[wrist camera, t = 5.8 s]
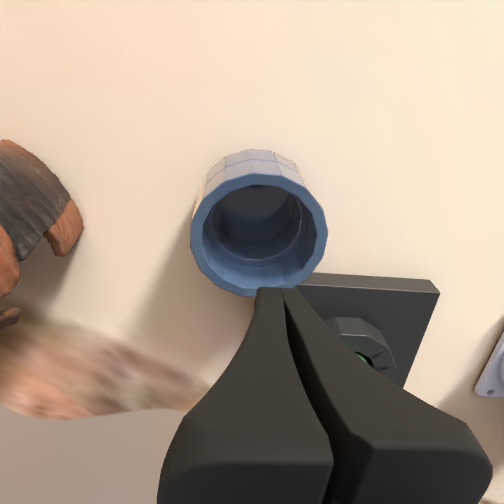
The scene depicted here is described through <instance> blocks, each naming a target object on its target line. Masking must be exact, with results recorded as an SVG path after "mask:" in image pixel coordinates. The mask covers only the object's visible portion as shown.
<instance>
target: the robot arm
mask: <svg viewBox="0 0 504 504" xmlns="http://www.w3.org/2000/svg"><path fill="white" fill-rule="evenodd" d="M474 391H475V393H476V394H477V395H478V396H483V397H504V332H503V334H502V336H501V338H500V340H499V341H498V343H497V345H496V347H495V349H494V351H493V353H492V355H491V357H490V359H489V361H488V363H487V365H486V367H485V369H484V371H483V372H482V374H481V376H480V378H479V380H478V382H477V384H476V386H475V388H474ZM492 476H493V466H492V464H491V462H490V461H489V459H488V457H487V455H486V454H485V452H484V450H483V449H482V447H481V445H480V444H479V442H478V440H477V439H476V437H475V436H474V434H473V433H472V431H471V430H470V429H469V427H468V426H467V424H466V423H464V422H462V421H460V420H458V419H456V418H455V417H453V416H451V415H449V414H447V413H445V412H443V411H441V410H439V409H437V408H435V407H433V406H431V405H429V404H428V403H426V402H424V401H422V400H421V399H419V398H417V397H416V396H414V395H412V394H411V393H409V392H407V391H406V390H404V389H403V388H401V387H400V386H398V385H396V384H395V383H393V382H392V381H391V380H389V379H388V378H386V377H385V376H384V375H382V374H381V373H379V372H378V371H377V370H375V369H374V368H373V367H371V366H370V365H369V364H367V363H366V362H365V361H364V360H363V359H361V358H360V357H359V356H358V355H357V354H356V353H354V352H353V351H352V350H351V349H350V348H349V347H348V346H347V345H346V344H344V343H343V342H342V341H341V340H340V339H339V338H338V337H337V336H336V335H335V334H334V333H333V331H332V330H331V329H330V328H329V327H328V326H327V325H326V324H325V323H324V321H323V320H322V319H321V318H320V317H319V316H318V315H317V313H316V312H315V311H314V310H313V308H312V307H311V306H310V305H309V303H308V302H307V301H306V300H305V298H304V297H303V296H302V295H301V293H300V292H299V291H298V290H297V289H296V288H278V287H259V288H258V289H257V292H256V300H255V309H254V314H253V317H252V320H251V323H250V326H249V328H248V330H247V332H246V335H245V337H244V339H243V341H242V343H241V345H240V347H239V349H238V350H237V352H236V354H235V356H234V357H233V359H232V360H231V362H230V363H229V365H228V367H227V368H226V370H225V371H224V372H223V374H222V375H221V377H220V378H219V379H218V380H217V382H216V383H215V384H214V385H213V386H212V388H211V389H210V390H209V391H208V392H207V394H206V395H205V396H204V397H203V398H202V399H201V400H200V401H199V402H198V403H197V404H196V405H195V406H194V407H193V408H192V409H191V410H190V411H189V412H188V413H187V414H186V415H185V416H184V417H183V419H182V421H181V423H180V425H179V427H178V429H177V431H176V433H175V435H174V437H173V440H172V442H171V444H170V446H169V449H168V452H167V454H166V457H165V459H164V463H163V467H162V469H161V474H160V481H159V487H158V494H157V504H478V502H479V501H480V499H481V498H482V496H483V495H484V493H485V492H486V490H487V488H488V486H489V484H490V482H491V479H492Z"/></svg>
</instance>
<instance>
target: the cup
mask: <svg viewBox="0 0 504 504" xmlns="http://www.w3.org/2000/svg"><path fill="white" fill-rule="evenodd" d="M327 237H328V228H327V224H326V220H325V215H324V211H323V208H322V206H321V204H320V203H319V201H318V199H317V197H316V195H315V194H314V192H313V190H312V188H311V187H310V185H309V183H308V181H307V179H306V178H305V177H304V175H303V174H302V173H301V171H300V170H299V169H298V168H297V166H296V165H295V164H294V163H293V162H292V161H290V160H288V159H286V158H284V157H283V156H281V155H279V154H277V153H275V152H273V153H272V151H264V150H253V149H250V150H245V151H242V152H238V153H235V154H232V155H229V156H227V157H225V158H223V159H222V160H221V161H220V162H219V163H218V164H216V165H215V166H214V167H213V168H212V169H211V170H209V172H208V173H207V175H206V177H205V179H204V181H203V183H202V185H201V188H200V190H199V193H198V197H197V201H196V205H195V208H194V212H193V216H192V220H191V227H190V247H191V251H192V253H193V255H194V258H195V260H196V262H197V264H198V267H199V269H200V270H201V271H202V272H203V273H204V274H205V275H206V276H207V277H208V278H209V279H210V280H211V281H212V282H213V283H214V284H215V285H216V286H218V287H220V288H223V289H225V290H227V291H230V292H232V293H235V294H237V295H240V296H251V297H256V292H257V289H258V288H259V287H278V288H294V287H295V286H297V285H298V284H299V283H301V282H302V281H304V280H305V279H307V278H308V277H309V276H310V275H311V273H312V272H313V271H314V269H315V268H316V266H317V265H318V263H319V262H320V261H321V259H322V258H323V255H324V251H325V246H326V241H327Z"/></svg>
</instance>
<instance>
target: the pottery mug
mask: <svg viewBox="0 0 504 504" xmlns="http://www.w3.org/2000/svg"><path fill="white" fill-rule="evenodd" d="M83 229H84V227H83V221H82V218H81V216H80V213H79V210H78V208H77V207H76V205H75V204H74V202H73V200H72V199H71V198H70V195H69V193H68V192H67V190H66V189H65V188H64V187H63V185H62V184H61V183H60V181H59V179H58V177H57V176H56V175H55V174H53V173H52V172H51V171H50V170H49V169H48V168H47V166H46V165H45V164H44V163H43V162H42V161H40V160H39V159H38V158H37V157H36V156H35V155H33V154H32V153H30V152H28V151H27V150H25V149H24V148H22V147H21V146H19V145H17V144H15V143H14V142H12V141H10V140H1V141H0V297H3V296H5V295H7V294H9V293H10V292H11V290H12V288H13V287H14V286H15V285H16V284H17V282H18V280H19V278H20V272H19V265H18V262H19V261H23V260H24V259H25V258H26V256H27V255H28V254H29V253H30V252H31V250H32V249H33V247H34V245H35V244H36V243H37V242H38V241H39V240H40V238H41V236H42V234H43V235H44V237H45V238H47V239H48V242H49V243H50V245H51V247H52V249H53V251H54V254H55V255H56V256H60V257H63V256H65V255H66V254H67V253H68V252H69V251H70V250H71V248H72V246H73V245H74V243H75V242H76V240H77V238H78V236H79V235H80V234H81V233H82V231H83ZM21 313H22V312H21V309H20V308H18V307H13V308H9V309H7V310H5V311H2V312H0V331H1V330H2V329H4V328H6V327H8V326H10V325H13V324H15V323H17V321H18V320H19V317H20V315H21Z"/></svg>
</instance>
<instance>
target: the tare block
mask: <svg viewBox="0 0 504 504" xmlns="http://www.w3.org/2000/svg"><path fill="white" fill-rule="evenodd" d="M294 288H296V289H297V290H298V291H299V292H300V293H301V295H302V296H303V297H304V298H305V300H306V301H307V302H308V303H309V305H310V306H311V307H312V308H313V310H314V311H315V312H316V313H317V315H318V316H319V317H320V318H321V319H322V320H323V321H324V323H325V324H326V325H327V326H328V327H329V328H330V329H331V330H332V331H333V333H334V334H335V335H336V336H337V337H338V338H339V339H340V340H341V341H342V342H343V343H344V344H346V345H347V346H348V347H349V348H350V349H351V350H352V351H353V352H355V353H357V354H360V355H361V356H362V357H364V358H365V360H366V361H367V363H368V364H369V365H370V366H371V367H373V368H374V369H375V370H377V371H378V372H379V373H381V374H382V375H384V376H385V377H386V378H388V379H389V380H391V381H392V382H393V383H395V384H396V385H398V386H400V387H401V388H403V387H404V384H405V382H406V379H407V377H408V374H409V371H410V369H411V366H412V364H413V361H414V359H415V356H416V354H417V351H418V349H419V346H420V344H421V341H422V338H423V336H424V333H425V331H426V328H427V326H428V323H429V321H430V318H431V316H432V313H433V311H434V308H435V305H436V303H437V300H438V298H439V295H440V292H439V290H438V289H437V288H436V287H435V286H434V285H433V283H432V282H431V281H430V280H422V279H406V278H391V277H375V276H359V275H343V274H328V273H311V275H310V276H309V277H308V278H307V279H305V280H304V281H302V282H301V283H299V284H298V285H297V286H295V287H294Z"/></svg>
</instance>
